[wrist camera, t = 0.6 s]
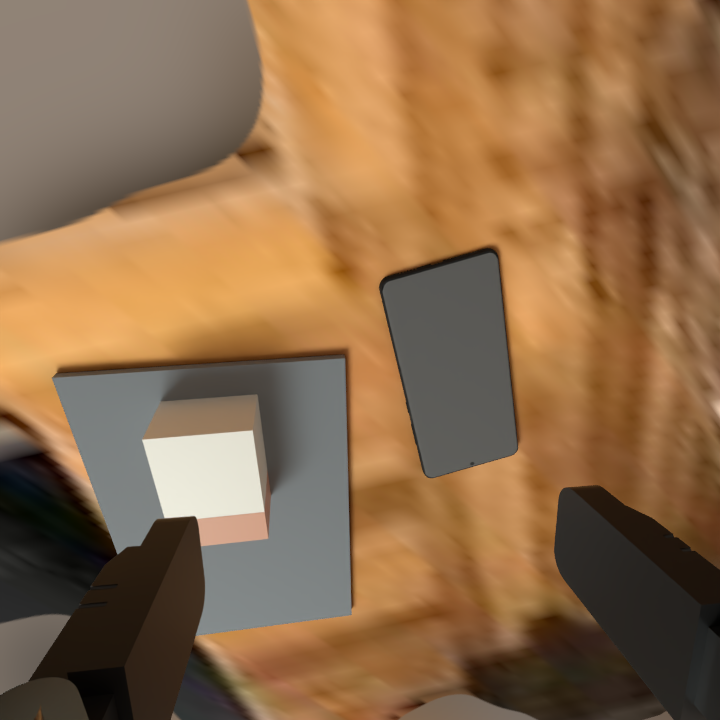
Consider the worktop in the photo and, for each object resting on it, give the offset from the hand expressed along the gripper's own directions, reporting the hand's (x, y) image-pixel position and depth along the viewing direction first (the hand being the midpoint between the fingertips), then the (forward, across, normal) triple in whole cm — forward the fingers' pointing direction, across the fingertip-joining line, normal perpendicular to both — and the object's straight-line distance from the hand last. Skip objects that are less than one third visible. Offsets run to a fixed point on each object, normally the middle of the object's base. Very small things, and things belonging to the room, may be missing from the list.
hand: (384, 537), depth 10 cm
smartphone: (+19, -7, +1) cm, 20 cm away
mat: (+20, +7, +12) cm, 24 cm away
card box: (+18, +8, +6) cm, 21 cm away
